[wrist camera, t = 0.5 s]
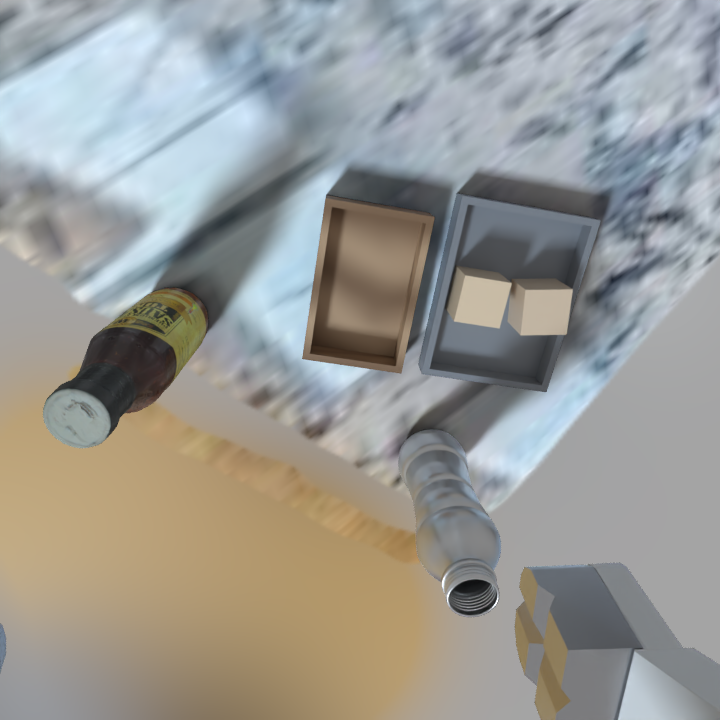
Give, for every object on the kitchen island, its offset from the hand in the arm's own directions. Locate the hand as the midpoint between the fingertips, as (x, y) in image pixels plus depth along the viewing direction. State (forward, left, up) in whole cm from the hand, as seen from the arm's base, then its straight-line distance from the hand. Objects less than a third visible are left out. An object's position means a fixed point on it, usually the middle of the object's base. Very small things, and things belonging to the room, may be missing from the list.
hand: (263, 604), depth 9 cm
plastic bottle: (+21, +14, -43) cm, 50 cm away
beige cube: (+4, +20, -42) cm, 47 cm away
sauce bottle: (+11, -12, -43) cm, 46 cm away
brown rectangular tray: (+5, +4, -43) cm, 44 cm away
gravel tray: (+4, +17, -43) cm, 46 cm away
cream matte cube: (+4, +14, -42) cm, 45 cm away
